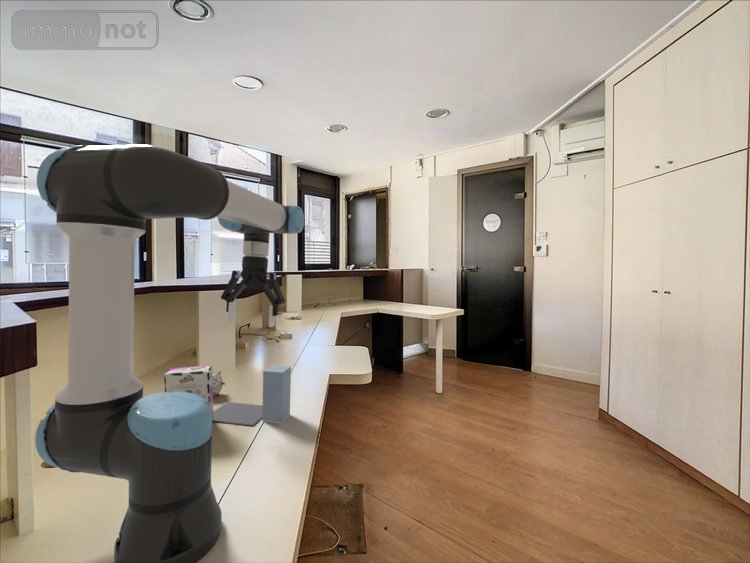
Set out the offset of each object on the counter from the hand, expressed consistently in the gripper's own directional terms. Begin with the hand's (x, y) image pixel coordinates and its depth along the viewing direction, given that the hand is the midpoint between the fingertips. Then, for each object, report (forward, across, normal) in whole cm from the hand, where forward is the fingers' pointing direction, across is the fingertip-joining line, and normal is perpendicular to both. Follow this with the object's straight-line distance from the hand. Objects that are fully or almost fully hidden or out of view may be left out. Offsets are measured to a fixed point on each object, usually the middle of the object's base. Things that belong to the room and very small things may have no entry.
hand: (251, 324), depth 105 cm
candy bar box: (+28, +10, +12) cm, 32 cm away
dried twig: (+28, +18, -9) cm, 34 cm away
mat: (+27, +1, +1) cm, 27 cm away
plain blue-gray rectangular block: (+27, -11, +1) cm, 29 cm away
